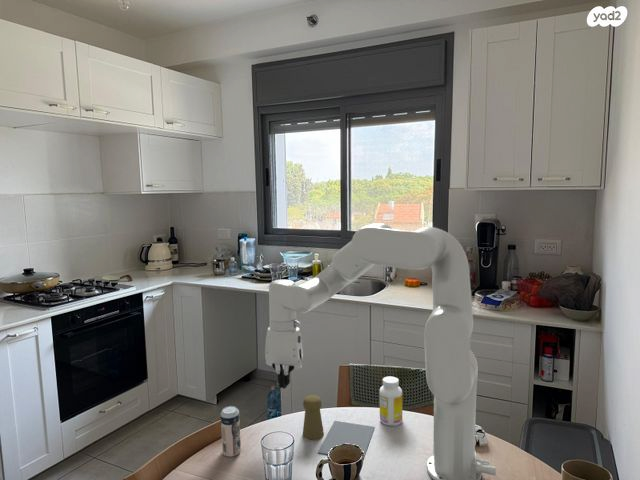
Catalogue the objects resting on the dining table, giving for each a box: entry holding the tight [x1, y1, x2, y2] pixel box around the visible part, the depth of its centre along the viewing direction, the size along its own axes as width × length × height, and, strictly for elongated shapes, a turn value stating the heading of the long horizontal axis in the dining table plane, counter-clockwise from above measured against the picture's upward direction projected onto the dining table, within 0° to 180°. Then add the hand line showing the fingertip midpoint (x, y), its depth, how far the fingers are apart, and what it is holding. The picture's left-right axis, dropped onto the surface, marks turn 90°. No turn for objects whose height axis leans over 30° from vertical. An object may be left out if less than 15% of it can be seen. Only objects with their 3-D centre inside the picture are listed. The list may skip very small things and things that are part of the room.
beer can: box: [220, 405, 242, 458], centre depth 113 cm, size 5×5×12 cm
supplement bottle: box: [378, 375, 403, 427], centre depth 127 cm, size 7×7×13 cm
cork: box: [302, 394, 325, 441], centre depth 121 cm, size 6×6×11 cm
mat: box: [317, 420, 376, 457], centre depth 118 cm, size 12×16×1 cm
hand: (284, 386), depth 122 cm, fingers closed
